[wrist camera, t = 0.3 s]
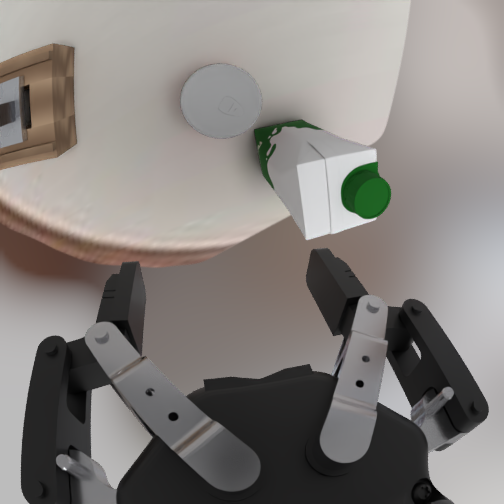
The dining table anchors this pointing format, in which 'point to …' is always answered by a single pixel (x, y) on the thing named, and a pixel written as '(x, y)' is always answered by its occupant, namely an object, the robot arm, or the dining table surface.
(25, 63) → the socket block
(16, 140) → the latch bar
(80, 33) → the dining table surface
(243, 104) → the canned food
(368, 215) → the milk carton
